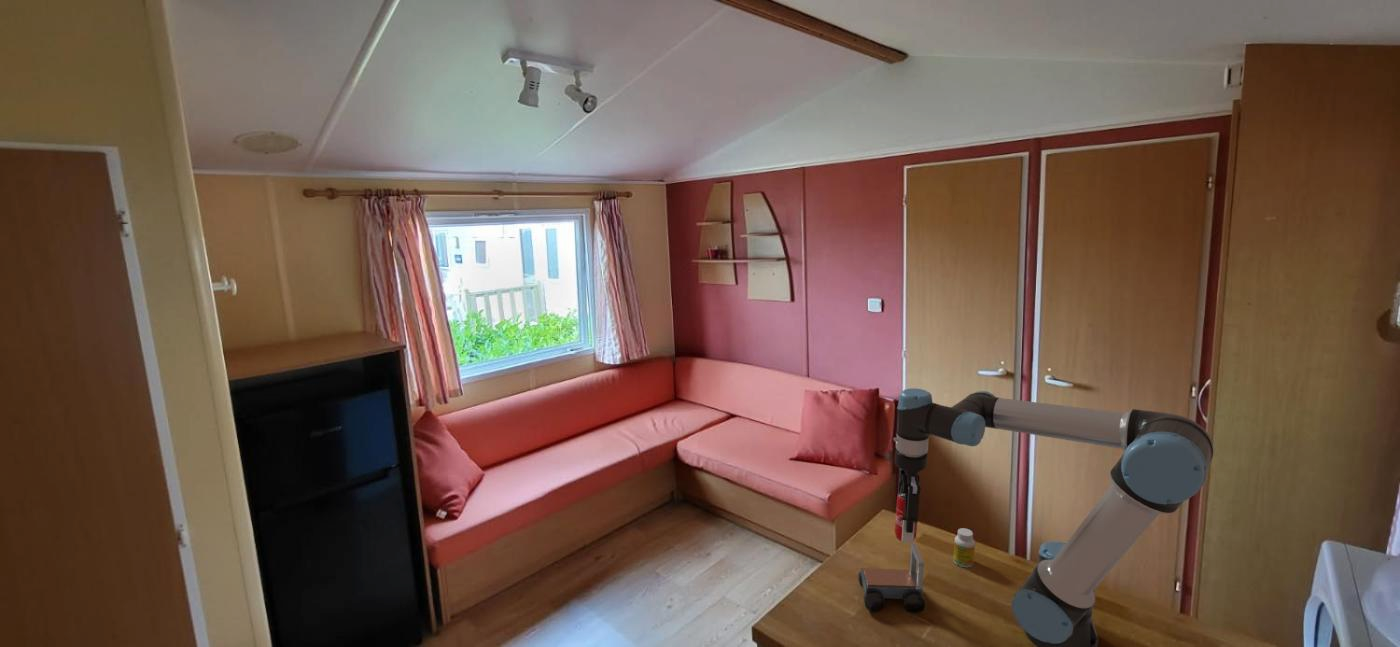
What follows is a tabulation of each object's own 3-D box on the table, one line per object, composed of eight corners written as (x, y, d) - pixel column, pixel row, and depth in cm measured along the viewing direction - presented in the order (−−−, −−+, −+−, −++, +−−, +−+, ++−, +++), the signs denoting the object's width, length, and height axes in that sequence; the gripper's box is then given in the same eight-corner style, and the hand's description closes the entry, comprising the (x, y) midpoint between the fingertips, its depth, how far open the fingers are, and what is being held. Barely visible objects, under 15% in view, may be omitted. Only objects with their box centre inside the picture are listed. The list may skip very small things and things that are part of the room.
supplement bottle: (954, 566, 173) (956, 535, 171) (952, 555, 178) (954, 525, 176) (974, 569, 171) (976, 538, 169) (972, 558, 176) (974, 528, 174)
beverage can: (916, 544, 152) (920, 501, 149) (895, 542, 153) (898, 499, 150) (914, 533, 157) (917, 491, 154) (893, 530, 158) (896, 488, 155)
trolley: (914, 586, 165) (916, 540, 162) (924, 613, 154) (927, 565, 151) (857, 584, 166) (859, 539, 163) (864, 611, 156) (866, 563, 153)
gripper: (889, 435, 159) (884, 515, 164) (902, 467, 141) (896, 555, 146) (919, 436, 158) (913, 516, 163) (936, 468, 140) (928, 557, 146)
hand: (905, 534), depth 155 cm, fingers closed on beverage can, 5 cm apart
